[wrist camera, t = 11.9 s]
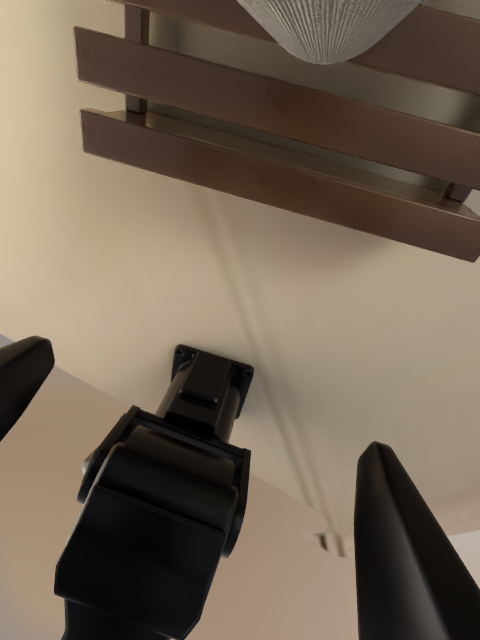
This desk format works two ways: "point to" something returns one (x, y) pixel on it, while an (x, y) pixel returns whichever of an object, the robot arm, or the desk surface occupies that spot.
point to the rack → (295, 124)
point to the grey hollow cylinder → (328, 25)
